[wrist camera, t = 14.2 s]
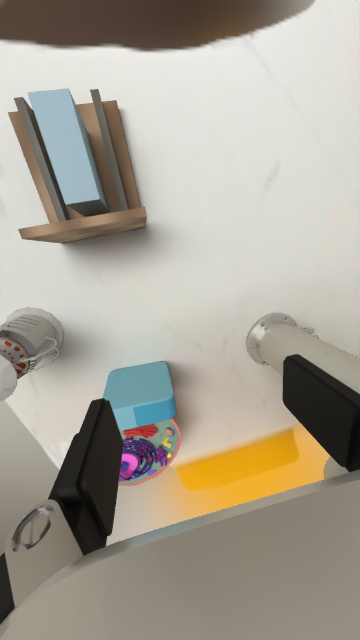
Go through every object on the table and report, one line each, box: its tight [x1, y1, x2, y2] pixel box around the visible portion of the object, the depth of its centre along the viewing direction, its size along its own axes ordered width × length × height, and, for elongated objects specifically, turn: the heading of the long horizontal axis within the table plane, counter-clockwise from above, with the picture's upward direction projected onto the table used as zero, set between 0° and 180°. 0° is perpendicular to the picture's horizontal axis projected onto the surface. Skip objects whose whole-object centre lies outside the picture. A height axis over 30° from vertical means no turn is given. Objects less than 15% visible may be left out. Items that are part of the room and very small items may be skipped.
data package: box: [103, 361, 176, 431], centre depth 38 cm, size 12×4×12 cm, turn 96°
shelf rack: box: [8, 89, 147, 243], centre depth 25 cm, size 14×16×12 cm
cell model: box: [118, 418, 182, 486], centre depth 42 cm, size 17×20×11 cm
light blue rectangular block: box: [28, 89, 109, 216], centre depth 26 cm, size 4×10×8 cm, turn 11°
